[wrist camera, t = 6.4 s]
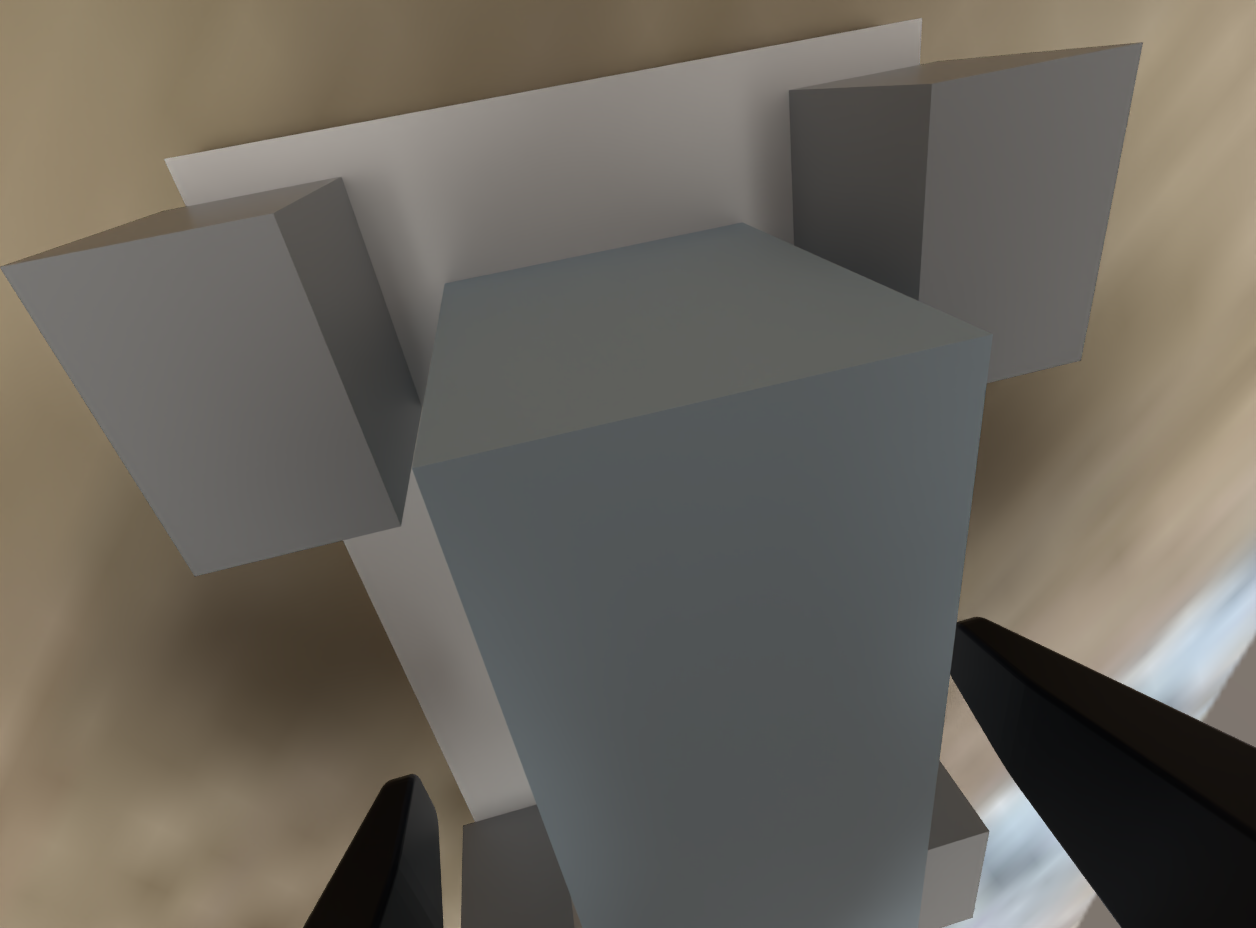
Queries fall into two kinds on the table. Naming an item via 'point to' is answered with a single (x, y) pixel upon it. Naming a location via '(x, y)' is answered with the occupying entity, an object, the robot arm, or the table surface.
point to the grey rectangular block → (712, 567)
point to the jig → (534, 234)
